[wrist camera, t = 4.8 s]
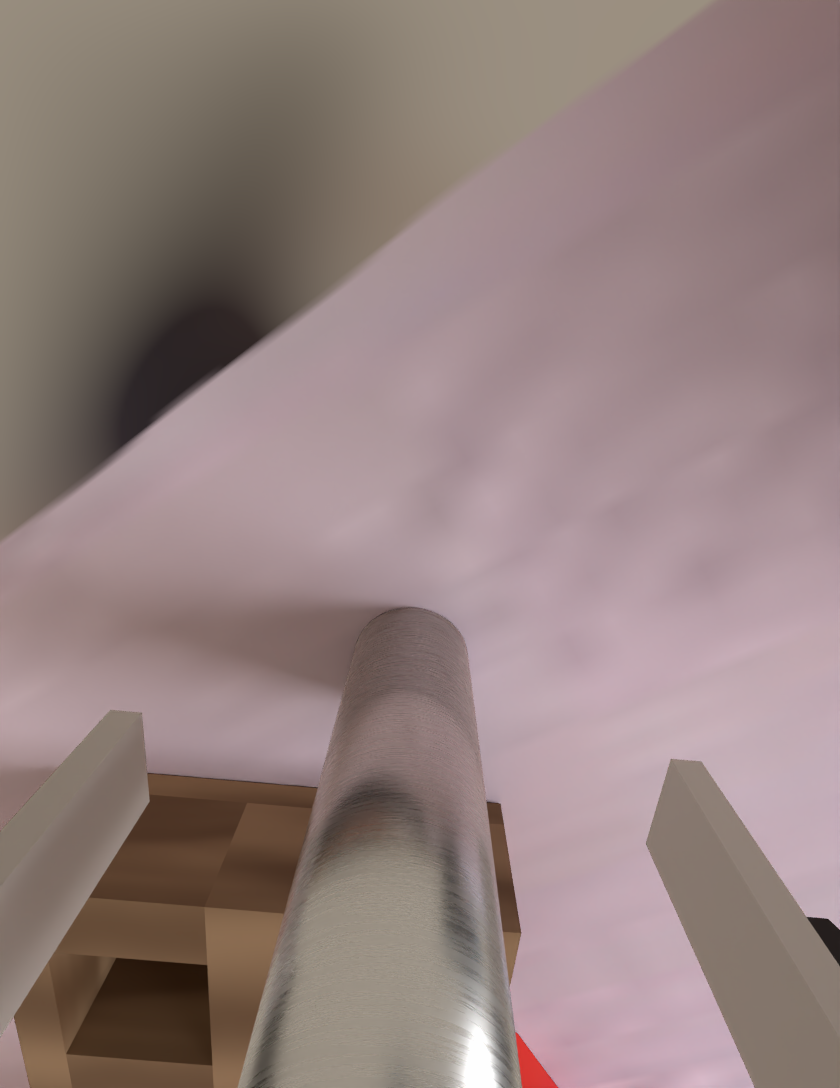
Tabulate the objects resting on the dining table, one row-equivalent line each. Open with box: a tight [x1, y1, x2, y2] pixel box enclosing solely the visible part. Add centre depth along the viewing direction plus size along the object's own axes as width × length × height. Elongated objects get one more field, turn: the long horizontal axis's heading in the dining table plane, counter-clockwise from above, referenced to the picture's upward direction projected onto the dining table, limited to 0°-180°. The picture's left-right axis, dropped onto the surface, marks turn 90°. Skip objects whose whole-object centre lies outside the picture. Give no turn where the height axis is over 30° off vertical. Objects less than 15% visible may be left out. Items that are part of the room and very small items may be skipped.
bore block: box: [14, 773, 521, 1088], centre depth 20 cm, size 10×16×5 cm, turn 85°
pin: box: [238, 608, 522, 1088], centre depth 12 cm, size 4×4×14 cm
